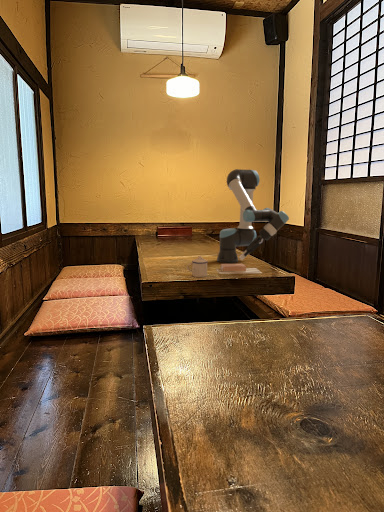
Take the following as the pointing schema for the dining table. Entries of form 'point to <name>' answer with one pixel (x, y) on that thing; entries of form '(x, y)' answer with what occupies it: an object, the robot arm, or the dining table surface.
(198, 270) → the teacup with lid
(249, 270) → the board
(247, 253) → the robot arm
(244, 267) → the tile
